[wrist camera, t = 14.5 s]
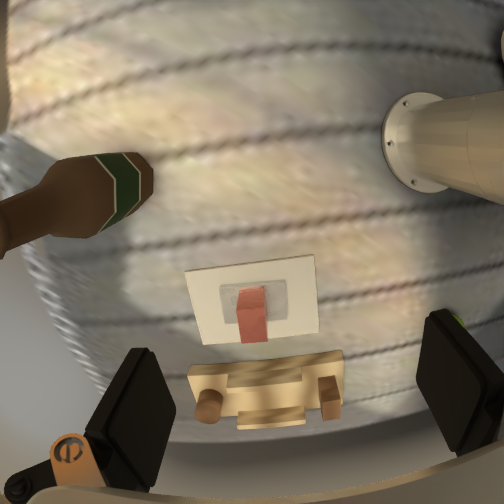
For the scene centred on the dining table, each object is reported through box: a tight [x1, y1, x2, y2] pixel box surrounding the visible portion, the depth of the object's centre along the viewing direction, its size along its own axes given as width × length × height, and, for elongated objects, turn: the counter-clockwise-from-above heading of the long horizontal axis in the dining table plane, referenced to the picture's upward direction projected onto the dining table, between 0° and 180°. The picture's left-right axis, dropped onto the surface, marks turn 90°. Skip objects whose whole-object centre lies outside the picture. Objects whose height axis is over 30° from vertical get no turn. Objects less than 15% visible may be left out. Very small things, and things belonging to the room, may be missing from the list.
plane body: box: [187, 350, 344, 429], centre depth 42 cm, size 22×9×8 cm, turn 99°
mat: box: [184, 255, 319, 345], centre depth 40 cm, size 16×11×1 cm
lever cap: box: [219, 280, 288, 343], centre depth 37 cm, size 8×5×6 cm, turn 96°
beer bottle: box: [0, 152, 153, 259], centre depth 25 cm, size 8×8×24 cm
